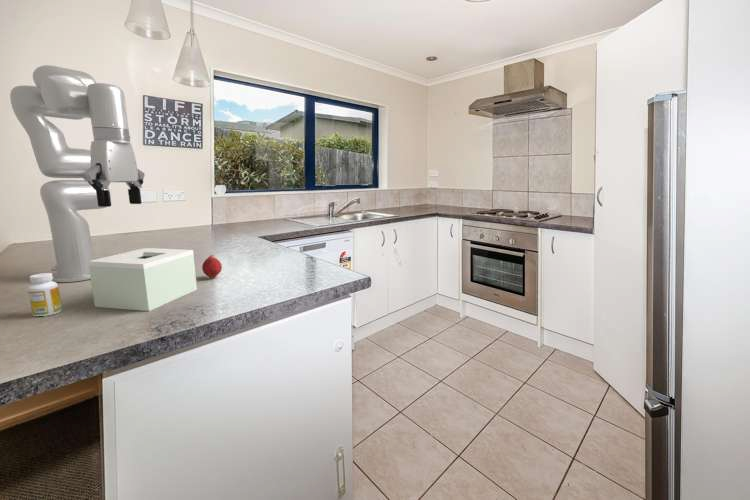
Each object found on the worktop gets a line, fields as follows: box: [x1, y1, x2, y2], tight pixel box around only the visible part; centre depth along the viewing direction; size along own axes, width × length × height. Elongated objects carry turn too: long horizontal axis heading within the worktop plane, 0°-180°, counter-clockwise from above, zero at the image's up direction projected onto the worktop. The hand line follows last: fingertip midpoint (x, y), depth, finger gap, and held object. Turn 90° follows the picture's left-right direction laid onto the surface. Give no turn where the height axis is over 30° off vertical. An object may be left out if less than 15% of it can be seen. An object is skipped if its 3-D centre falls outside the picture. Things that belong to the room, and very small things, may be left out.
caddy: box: [88, 247, 198, 312], centre depth 99 cm, size 16×18×12 cm
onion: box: [201, 254, 223, 279], centre depth 118 cm, size 6×6×8 cm
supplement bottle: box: [27, 272, 63, 317], centre depth 87 cm, size 5×5×10 cm
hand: (121, 205), depth 95 cm, fingers open, 9 cm apart
